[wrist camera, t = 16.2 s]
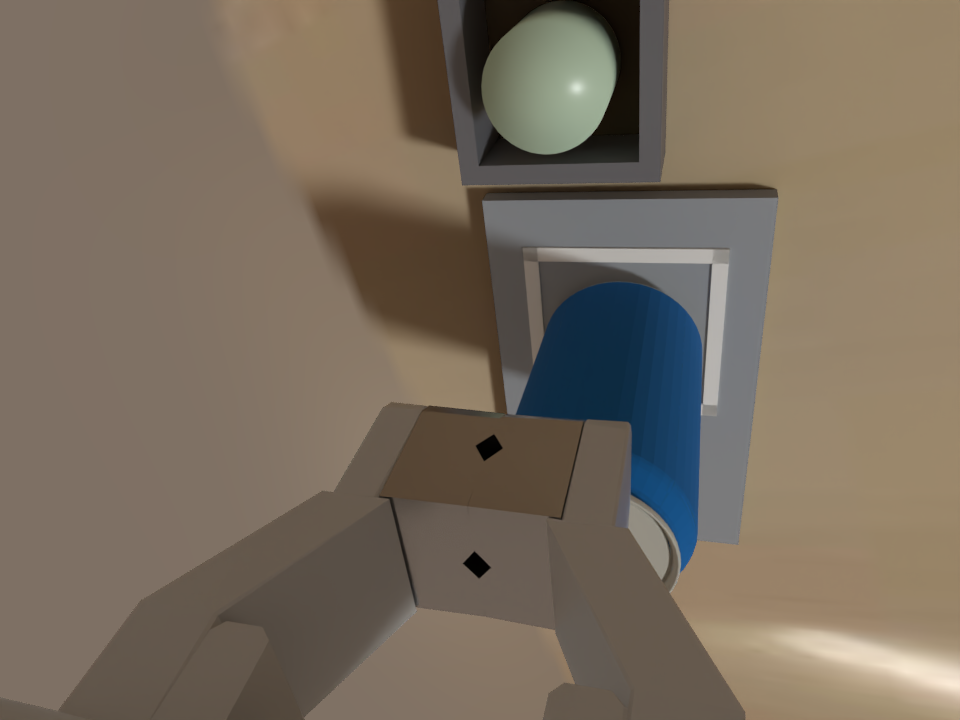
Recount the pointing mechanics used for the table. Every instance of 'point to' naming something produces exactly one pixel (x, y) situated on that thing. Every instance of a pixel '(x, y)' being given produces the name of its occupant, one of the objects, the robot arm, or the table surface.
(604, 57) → the button
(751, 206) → the picture board
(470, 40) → the button housing
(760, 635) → the table surface
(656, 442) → the beverage can
